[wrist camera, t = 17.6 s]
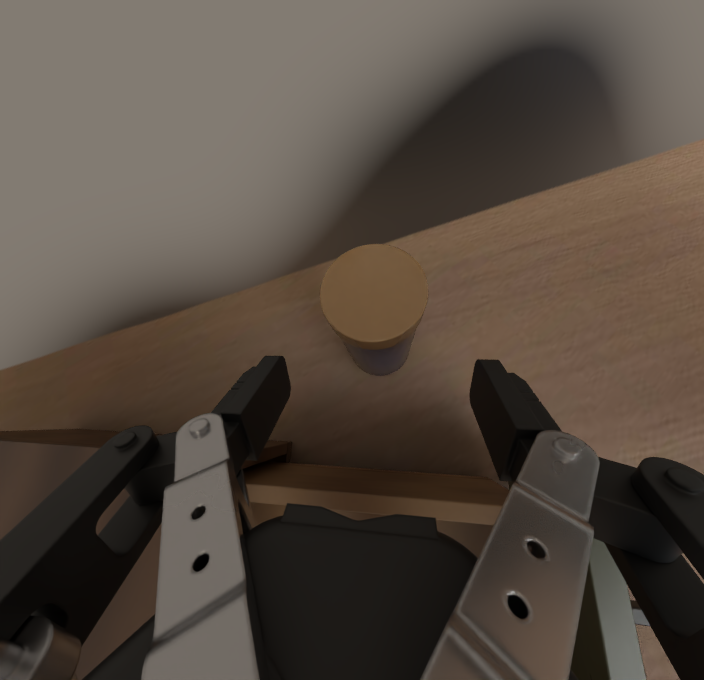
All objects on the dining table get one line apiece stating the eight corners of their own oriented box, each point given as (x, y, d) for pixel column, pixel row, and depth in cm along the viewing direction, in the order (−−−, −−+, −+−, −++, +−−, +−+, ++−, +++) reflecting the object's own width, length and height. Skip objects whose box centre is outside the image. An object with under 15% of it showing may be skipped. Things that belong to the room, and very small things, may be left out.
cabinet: (291, 441, 20) (227, 456, 12) (266, 694, 16) (142, 973, 8) (77, 428, 23) (-94, 434, 15) (9, 642, 19) (-279, 811, 11)
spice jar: (407, 315, 22) (421, 237, 13) (414, 375, 21) (435, 337, 11) (348, 320, 23) (319, 249, 13) (350, 379, 21) (319, 346, 12)
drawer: (607, 472, 16) (749, 506, 10) (671, 779, 13) (967, 1155, 6) (257, 449, 20) (193, 464, 13) (225, 688, 16) (113, 874, 9)
